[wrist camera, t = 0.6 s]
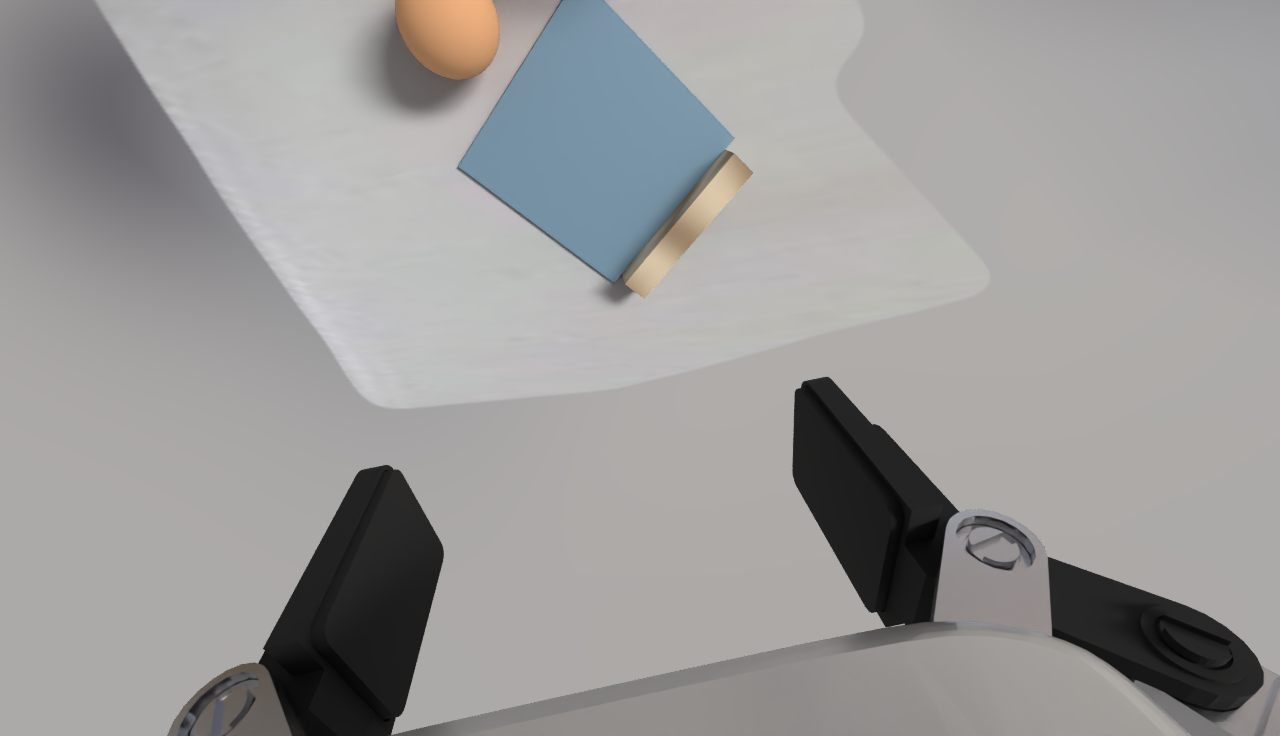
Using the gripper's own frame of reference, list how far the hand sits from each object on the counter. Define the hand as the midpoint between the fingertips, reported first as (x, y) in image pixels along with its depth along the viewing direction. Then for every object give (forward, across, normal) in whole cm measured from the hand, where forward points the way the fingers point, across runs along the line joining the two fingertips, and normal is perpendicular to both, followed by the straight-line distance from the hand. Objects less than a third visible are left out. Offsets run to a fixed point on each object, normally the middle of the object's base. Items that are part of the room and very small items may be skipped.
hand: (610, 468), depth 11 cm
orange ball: (+26, +5, -12) cm, 29 cm away
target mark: (+29, -2, -3) cm, 29 cm away
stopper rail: (+29, -7, +3) cm, 30 cm away
